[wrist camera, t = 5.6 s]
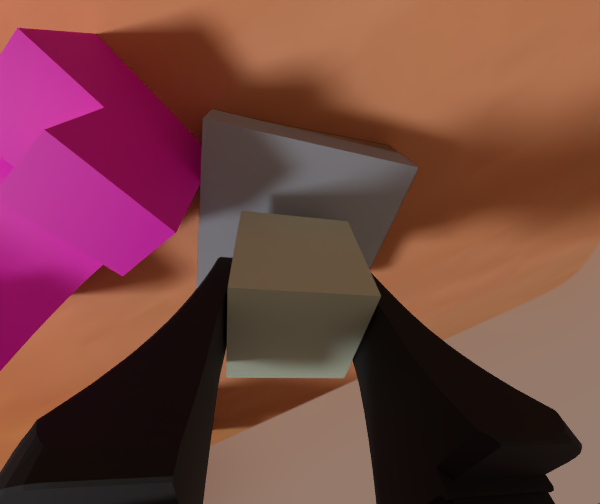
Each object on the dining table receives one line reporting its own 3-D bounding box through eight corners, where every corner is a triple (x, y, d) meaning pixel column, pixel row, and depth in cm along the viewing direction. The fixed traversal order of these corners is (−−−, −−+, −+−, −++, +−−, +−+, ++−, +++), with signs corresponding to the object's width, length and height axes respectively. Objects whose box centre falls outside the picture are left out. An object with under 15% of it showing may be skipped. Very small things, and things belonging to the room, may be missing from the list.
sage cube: (325, 296, 15) (344, 378, 11) (237, 291, 14) (226, 377, 10) (347, 221, 12) (381, 296, 8) (240, 210, 11) (227, 287, 8)
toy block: (97, 33, 11) (-97, 19, 5) (214, 155, 15) (175, 232, 9) (-57, 235, 16) (-256, 351, 10) (59, 294, 19) (-38, 408, 13)
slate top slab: (343, 287, 19) (350, 309, 17) (203, 270, 17) (196, 293, 15) (401, 153, 14) (418, 167, 12) (211, 109, 12) (202, 118, 10)
